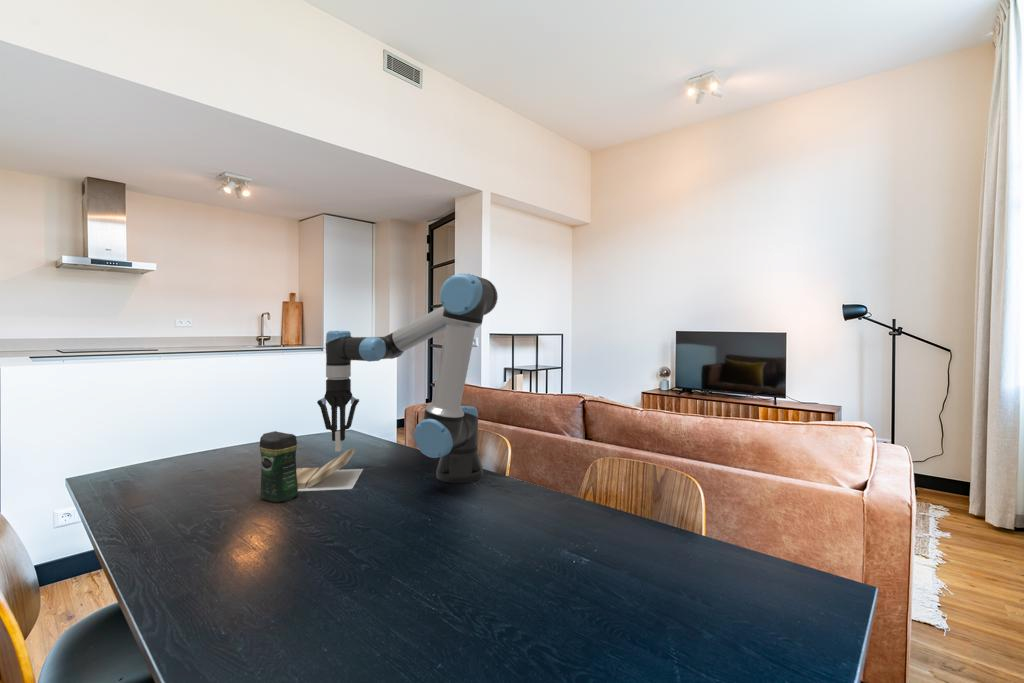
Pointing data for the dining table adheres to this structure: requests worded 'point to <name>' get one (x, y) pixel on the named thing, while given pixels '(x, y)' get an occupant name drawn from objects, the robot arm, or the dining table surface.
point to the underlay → (337, 480)
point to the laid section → (304, 476)
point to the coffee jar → (278, 466)
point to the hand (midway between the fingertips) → (338, 450)
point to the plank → (331, 467)
